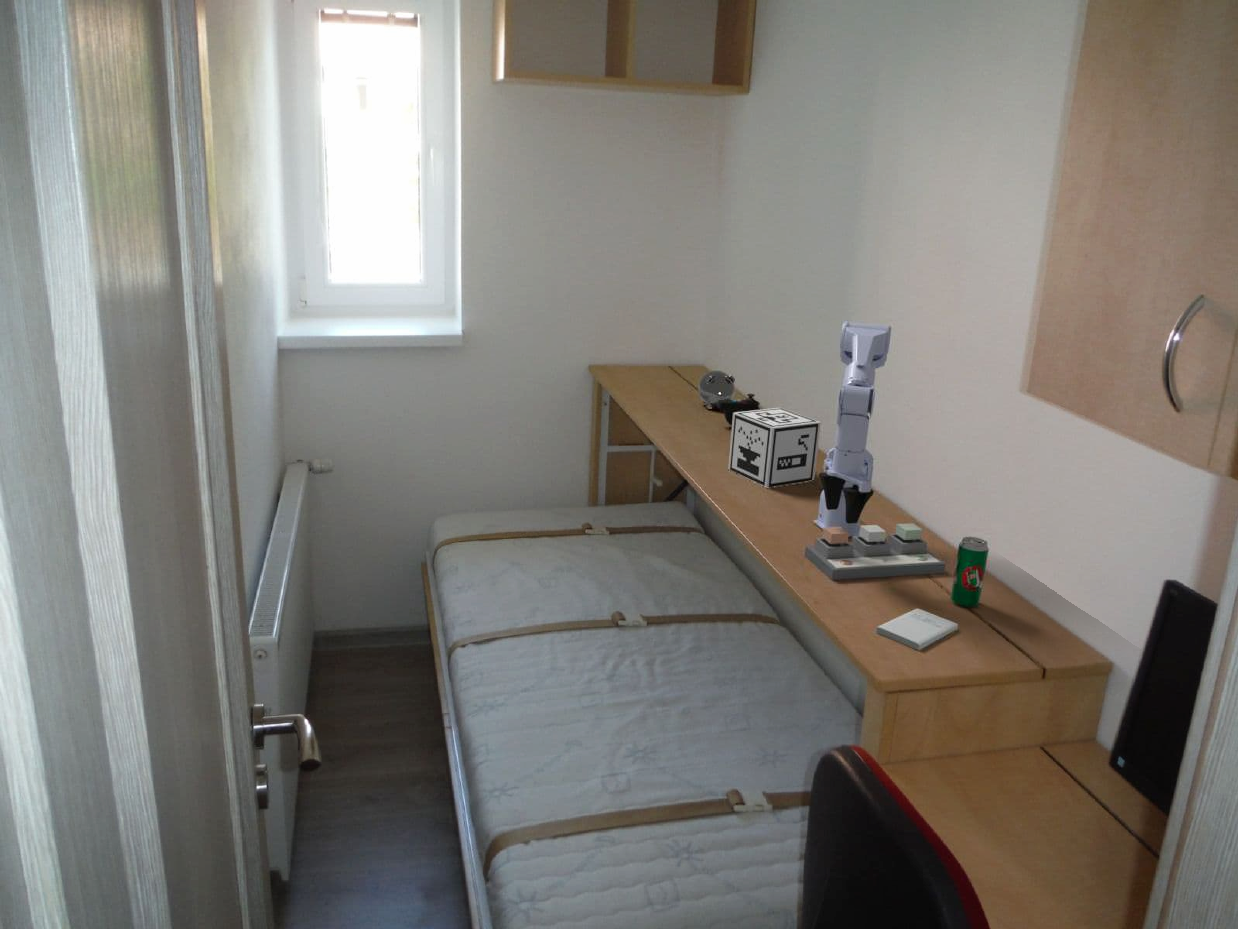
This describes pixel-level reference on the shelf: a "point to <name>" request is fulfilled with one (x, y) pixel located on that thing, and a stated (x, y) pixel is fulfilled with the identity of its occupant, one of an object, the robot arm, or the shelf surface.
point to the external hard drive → (917, 628)
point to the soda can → (969, 572)
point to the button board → (871, 549)
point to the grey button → (872, 533)
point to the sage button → (908, 531)
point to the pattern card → (883, 561)
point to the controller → (737, 406)
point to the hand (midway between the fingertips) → (841, 515)
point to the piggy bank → (716, 387)
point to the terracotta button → (835, 535)
